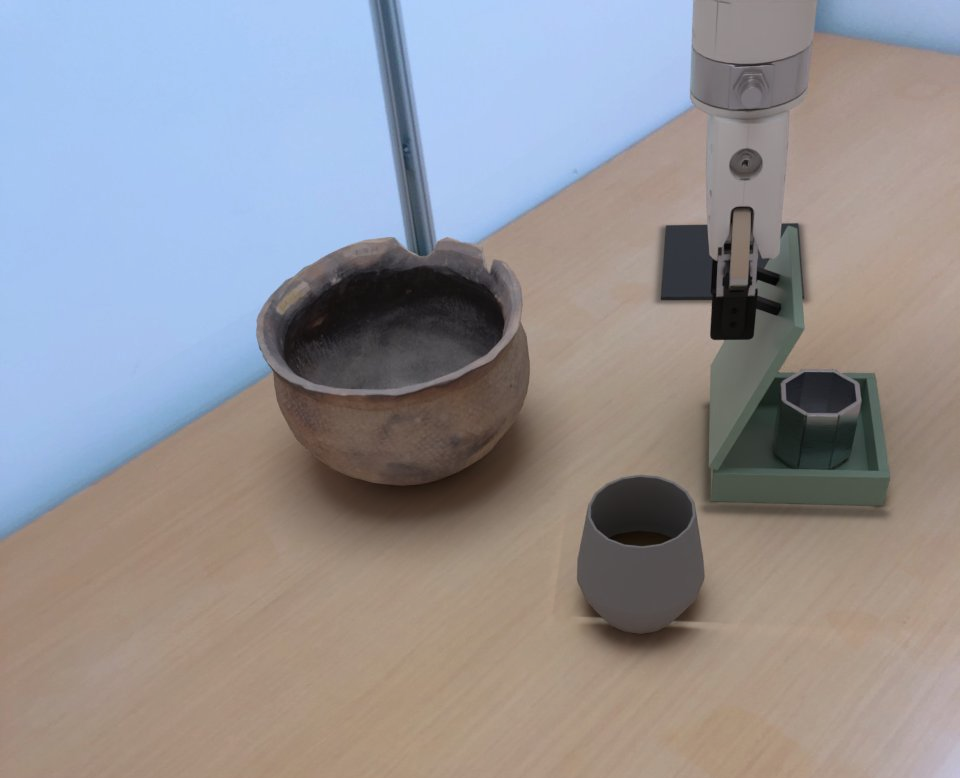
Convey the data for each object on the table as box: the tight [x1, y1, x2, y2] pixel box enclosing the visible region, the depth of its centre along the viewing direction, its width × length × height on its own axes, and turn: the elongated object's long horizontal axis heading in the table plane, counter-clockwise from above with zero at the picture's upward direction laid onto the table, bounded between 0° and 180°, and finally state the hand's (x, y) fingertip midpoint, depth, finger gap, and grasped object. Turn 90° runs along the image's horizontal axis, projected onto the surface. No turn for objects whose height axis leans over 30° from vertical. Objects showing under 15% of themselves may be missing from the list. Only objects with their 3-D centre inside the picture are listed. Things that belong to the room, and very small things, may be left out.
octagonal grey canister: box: [774, 368, 862, 470], centre depth 91 cm, size 6×6×6 cm
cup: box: [576, 474, 706, 635], centre depth 81 cm, size 10×9×10 cm
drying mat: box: [660, 222, 805, 301], centre depth 114 cm, size 14×14×1 cm
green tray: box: [709, 371, 891, 507], centre depth 93 cm, size 14×14×4 cm
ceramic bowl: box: [255, 236, 531, 486], centre depth 94 cm, size 22×22×15 cm
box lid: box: [708, 226, 806, 470], centre depth 86 cm, size 14×14×5 cm
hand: (731, 313), depth 84 cm, fingers closed on box lid, 5 cm apart
